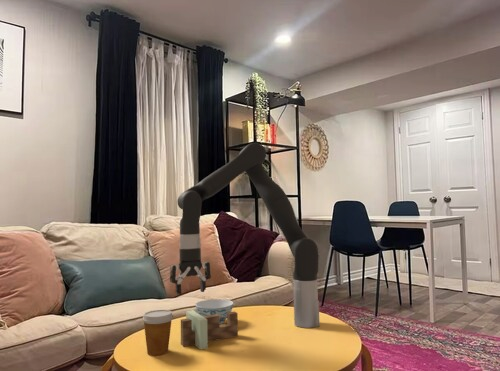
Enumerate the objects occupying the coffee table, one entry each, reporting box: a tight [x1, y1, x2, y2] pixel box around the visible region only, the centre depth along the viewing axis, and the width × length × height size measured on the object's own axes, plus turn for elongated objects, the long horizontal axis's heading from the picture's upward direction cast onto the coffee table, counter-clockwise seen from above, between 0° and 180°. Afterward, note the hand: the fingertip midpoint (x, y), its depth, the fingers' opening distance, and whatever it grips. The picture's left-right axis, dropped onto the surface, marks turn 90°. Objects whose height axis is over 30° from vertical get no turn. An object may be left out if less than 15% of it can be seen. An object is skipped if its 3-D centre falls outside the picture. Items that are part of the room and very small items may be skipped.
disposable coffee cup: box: [142, 309, 174, 357], centre depth 117 cm, size 10×10×12 cm
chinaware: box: [195, 298, 234, 325], centre depth 147 cm, size 15×15×8 cm
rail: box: [180, 310, 239, 347], centre depth 127 cm, size 20×2×8 cm, turn 118°
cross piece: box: [185, 309, 209, 350], centre depth 125 cm, size 14×2×9 cm, turn 28°
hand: (190, 293), depth 130 cm, fingers open, 8 cm apart
